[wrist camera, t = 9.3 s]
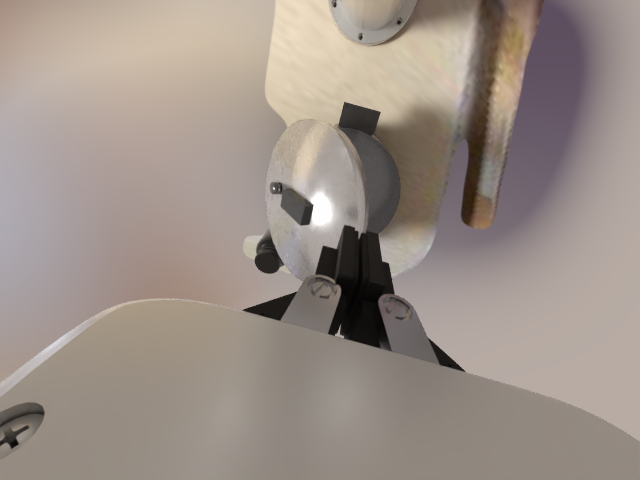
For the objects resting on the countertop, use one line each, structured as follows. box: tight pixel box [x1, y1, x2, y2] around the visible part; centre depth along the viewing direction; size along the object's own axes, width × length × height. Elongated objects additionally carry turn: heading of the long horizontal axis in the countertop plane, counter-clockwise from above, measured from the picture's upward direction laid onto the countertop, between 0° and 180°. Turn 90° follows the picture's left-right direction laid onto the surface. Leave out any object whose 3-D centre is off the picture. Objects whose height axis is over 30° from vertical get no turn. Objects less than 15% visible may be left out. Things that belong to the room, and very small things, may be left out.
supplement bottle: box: [255, 229, 284, 274], centre depth 50 cm, size 7×7×12 cm
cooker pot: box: [334, 102, 400, 234], centre depth 42 cm, size 24×18×12 cm
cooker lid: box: [266, 119, 369, 281], centre depth 29 cm, size 19×19×3 cm
